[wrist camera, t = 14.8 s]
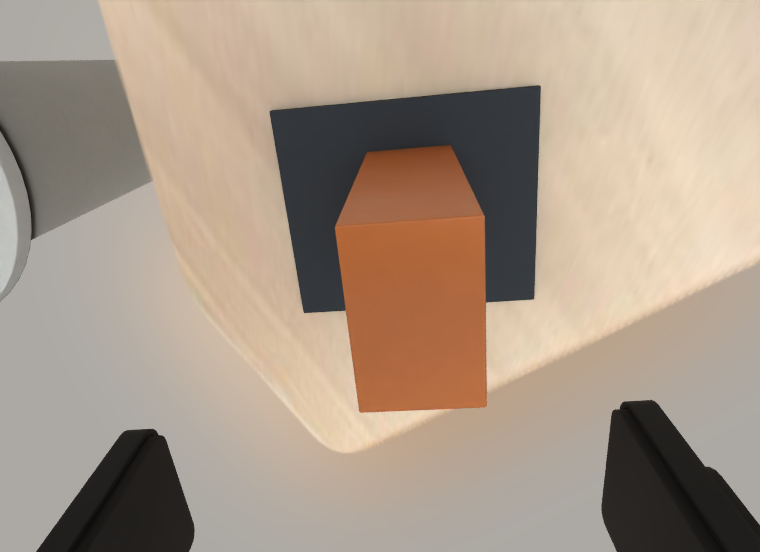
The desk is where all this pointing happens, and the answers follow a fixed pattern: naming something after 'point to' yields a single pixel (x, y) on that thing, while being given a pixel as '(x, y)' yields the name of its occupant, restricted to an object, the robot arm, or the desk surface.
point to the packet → (414, 282)
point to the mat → (401, 131)
